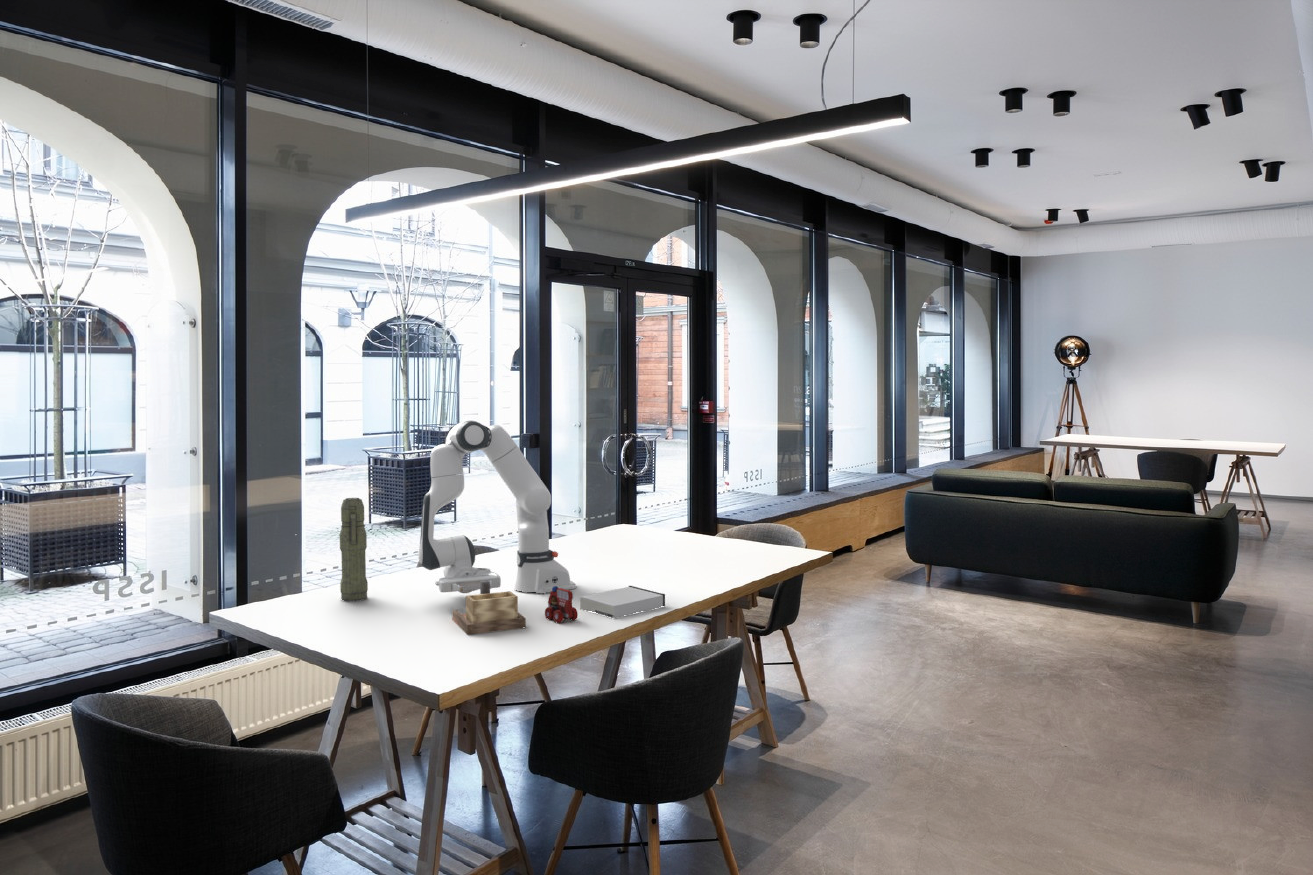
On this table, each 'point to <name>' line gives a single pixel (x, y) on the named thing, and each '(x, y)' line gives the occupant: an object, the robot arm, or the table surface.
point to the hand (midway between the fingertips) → (475, 587)
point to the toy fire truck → (560, 605)
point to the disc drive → (622, 601)
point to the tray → (487, 624)
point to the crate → (491, 605)
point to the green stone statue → (353, 551)
